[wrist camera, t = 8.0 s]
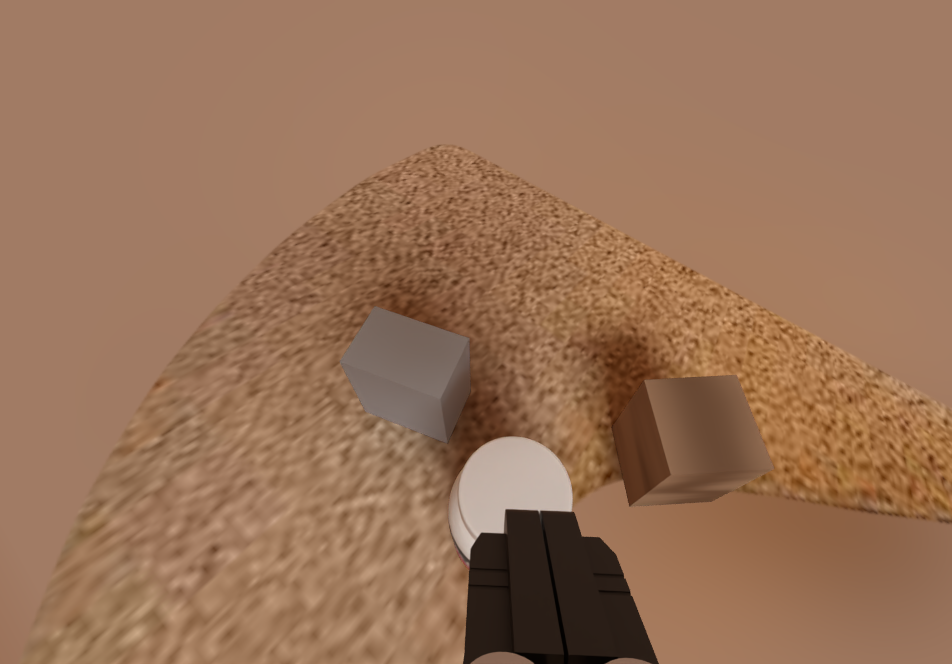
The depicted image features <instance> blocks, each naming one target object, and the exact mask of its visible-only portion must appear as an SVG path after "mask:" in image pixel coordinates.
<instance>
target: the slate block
mask: <svg viewBox="0 0 952 664" xmlns="http://www.w3.org/2000/svg"><path fill="white" fill-rule="evenodd" d="M340 363H341V365H342V367H343V369H344V371H345V373H346V375H347V377H348V379H349V381H350V383H351V385H352V386H353V388H354V390H355V392H356V394H357V396H358V398H359V400H360V402H361V404H362V406H363V408H364V409H365V411H366V412H368V413H371V414H373V415H376V416H378V417H381V418H383V419H386V420H388V421H391V422H393V423H396V424H399V425H401V426H404V427H406V428H409V429H411V430H414V431H416V432H419V433H421V434H424V435H427V436H429V437H432V438H434V439H437V440H439V441H442V442H444V443H447V444H448V441H449V439H450V437H451V435H452V432H453V430H454V428H455V426H456V423H457V421H458V419H459V416H460V414H461V412H462V410H463V407H464V405H465V403H466V401H467V398H468V396H469V394H470V392H471V383H470V344H469V338H468V337H465V336H462V335H459V334H456V333H453V332H450V331H447V330H444V329H441V328H438V327H435V326H432V325H429V324H426V323H423V322H420V321H417V320H414V319H412V318H409V317H406V316H403V315H400V314H397V313H394V312H391V311H388V310H385V309H382V308H379V307H376V306H374V308H373V310H372V311H371V313H370V314H369V316H368V318H367V319H366V321H365V322H364V324H363V325H362V327H361V329H360V330H359V332H358V333H357V335H356V336H355V338H354V340H353V341H352V343H351V344H350V346H349V348H348V349H347V351H346V352H345V354H344V355H343V357H342V359H341V360H340Z"/></svg>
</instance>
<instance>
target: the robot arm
mask: <svg viewBox="0 0 952 664" xmlns="http://www.w3.org/2000/svg"><path fill="white" fill-rule="evenodd" d="M463 664H659V663H658V661H657V658H656V656H655V653H654V650H653V648H652V645H651V643H650V640H649V638H648V635H647V633H646V630H645V628H644V625H643V622H642V620H641V617H640V615H639V612H638V610H637V607H636V605H635V602H634V600H633V597H632V596H631V594H630V589H629V587H628V584H627V582H626V579H624V574H623V572H622V569H621V566H620V564H619V561H618V559H617V556H616V554H615V553H614V552H613V551H612V550H611V549H610V548H609V547H608V546H607V545H606V544H605V543H604V542H603V541H602V540H601V538H599V537H582V536H581V532H580V529H579V526H578V522H577V519H576V516H575V513H574V512H569V511H545V510H540V513H539V511H538V510H519V509H505V518H504V533H484V532H481V533H480V535H479V536H478V538H477V539H476V541H475V542H474V544H473V545H472V547H471V549H470V566H469V584H468V601H467V618H466V635H465V653H464V661H463Z"/></svg>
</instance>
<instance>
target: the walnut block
mask: <svg viewBox="0 0 952 664" xmlns="http://www.w3.org/2000/svg"><path fill="white" fill-rule="evenodd" d="M612 431H613V436H614V440H615V445H616V449H617V453H618V458H619V462H620V467H621V471H622V476H623V481H624V485H625V489H626V493H627V498H628V503H629V506H630V507H633V506H649V505H666V504H682V503H699V502H712V501H713V500H715V499H717V498H719V497H721V496H723V495H725V494H727V493H729V492H731V491H733V490H735V489H737V488H738V487H740V486H742V485H744V484H746V483H748V482H750V481H752V480H754V479H756V478H758V477H760V476H761V475H763V474H765V473H767V472H769V471H771V470H773V469H774V466H773V464H772V461H771V459H770V457H769V454H768V452H767V449H766V447H765V444H764V442H763V439H762V437H761V434H760V432H759V429H758V427H757V424H756V422H755V419H754V417H753V414H752V412H751V409H750V407H749V405H748V402H747V400H746V397H745V395H744V392H743V390H742V387H741V385H740V382H739V380H738V377H737V375H726V376H708V377H689V378H670V379H651V380H644V381H643V382H642V384H641V385H640V387H639V388H638V390H637V391H636V392H635V394H634V395H633V397H632V398H631V400H630V401H629V403H628V404H627V406H626V407H625V409H624V410H623V411H622V413H621V414H620V416H619V417H618V419H617V420H616V422H615V423H614V425H613V426H612Z"/></svg>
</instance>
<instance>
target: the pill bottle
mask: <svg viewBox="0 0 952 664" xmlns="http://www.w3.org/2000/svg"><path fill="white" fill-rule="evenodd" d="M572 501H573V499H572V487H571V482H570V479H569V476H568V473H567V471H566V469H565V468H564V466H563V464H562V463H561V461H560V460H559V459H558V457H557V456H556V455H555V454H554V453H553V452H552V451H551V450H549V449H548V448H547V447H545V446H544V445H542V444H541V443H539V442H537V441H534V440H532V439H529V438H524V437H518V436H508V437H501V438H497V439H494V440H492V441H489V442H487V443H486V444H484V445H482V446H481V447H480V448H478V449H477V450H476V451H475V452H474V453H473V454H472V455H471V456H470V458H469V459H468V461H467V462H466V464H465V466H464V467H463V469H462V470H461V472H460V473H459V475H458V476H457V478H456V480H455V482H454V484H453V487H452V489H451V493H450V497H449V504H448V520H449V526H450V531H451V534H452V537H453V541H454V545H455V548H456V551H457V554H458V556H459V558H460V559H461V561H462V563H463V564H464V565H465V567H466V568H467V569H468V570H469V566H470V549H471V547H472V545H473V544H474V542H475V541H476V539H477V538H478V536H479V535H480V533H481V532H484V533H504V518H505V509H519V510H538V511H539V513H540V510H545V511H569V512H572Z"/></svg>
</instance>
